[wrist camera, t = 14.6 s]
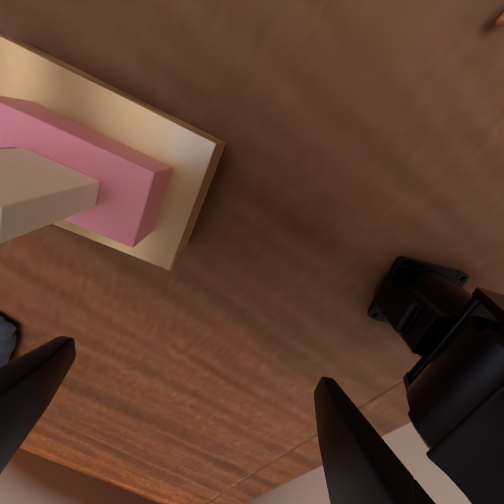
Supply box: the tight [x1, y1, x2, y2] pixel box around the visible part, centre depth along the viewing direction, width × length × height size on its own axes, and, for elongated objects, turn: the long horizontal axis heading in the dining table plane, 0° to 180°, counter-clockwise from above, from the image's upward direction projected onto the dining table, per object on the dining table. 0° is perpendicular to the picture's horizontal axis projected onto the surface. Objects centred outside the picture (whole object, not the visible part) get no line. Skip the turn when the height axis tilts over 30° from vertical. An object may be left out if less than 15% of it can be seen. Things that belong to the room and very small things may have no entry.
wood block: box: [0, 32, 226, 270], centre depth 17 cm, size 14×9×4 cm, turn 65°
